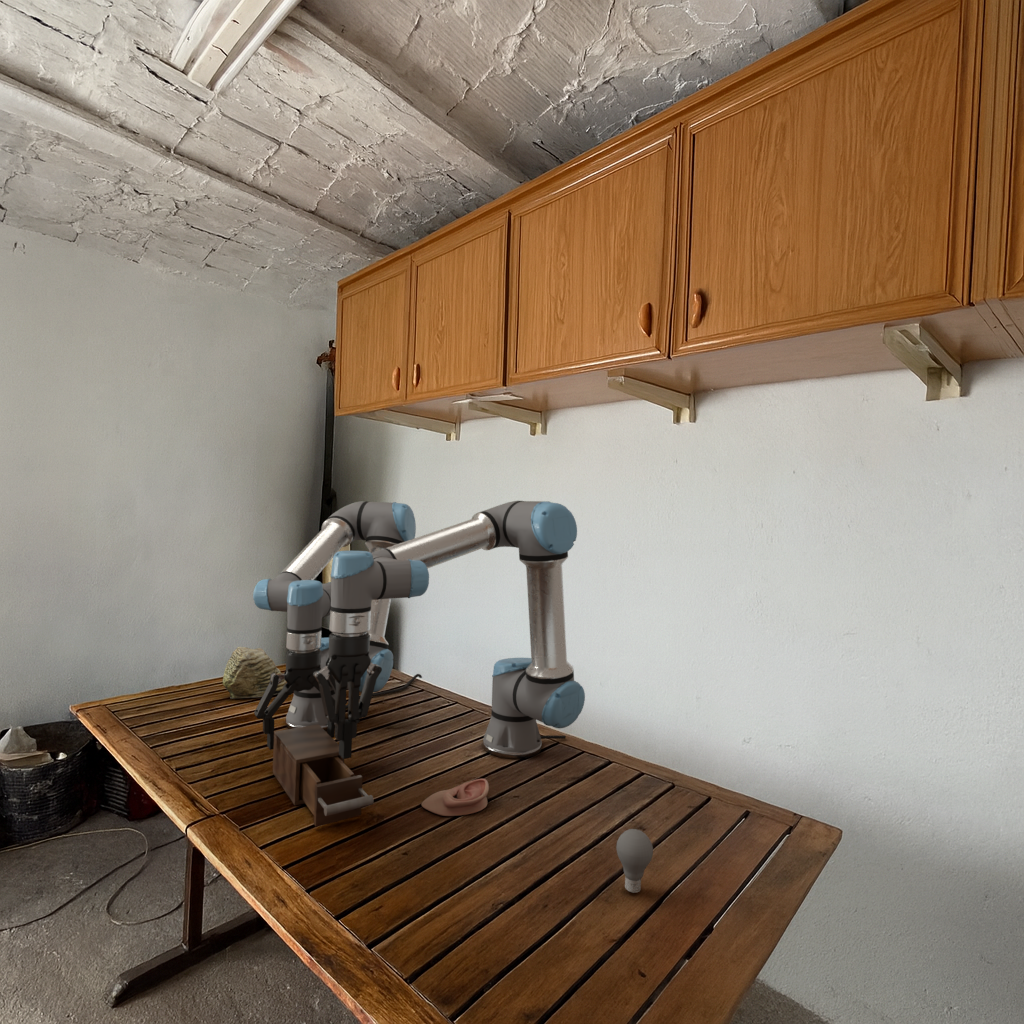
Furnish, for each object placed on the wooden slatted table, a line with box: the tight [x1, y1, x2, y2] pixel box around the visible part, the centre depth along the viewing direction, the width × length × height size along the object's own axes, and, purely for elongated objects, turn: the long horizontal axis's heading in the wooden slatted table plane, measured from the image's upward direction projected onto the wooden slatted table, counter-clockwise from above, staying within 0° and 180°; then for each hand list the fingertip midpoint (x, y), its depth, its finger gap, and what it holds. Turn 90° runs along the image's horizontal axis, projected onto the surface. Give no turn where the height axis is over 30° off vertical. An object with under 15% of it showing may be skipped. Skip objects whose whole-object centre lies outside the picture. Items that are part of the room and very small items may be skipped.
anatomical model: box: [421, 778, 490, 817], centre depth 133 cm, size 13×4×12 cm
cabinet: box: [272, 724, 345, 806], centre depth 140 cm, size 18×10×10 cm, turn 35°
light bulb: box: [615, 828, 654, 894], centre depth 106 cm, size 6×6×10 cm
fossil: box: [222, 646, 287, 699], centre depth 198 cm, size 9×18×15 cm, turn 132°
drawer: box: [299, 756, 375, 828], centre depth 127 cm, size 22×9×8 cm, turn 35°
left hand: (301, 741), depth 145 cm, fingers open, 13 cm apart
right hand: (344, 755), depth 121 cm, fingers closed
